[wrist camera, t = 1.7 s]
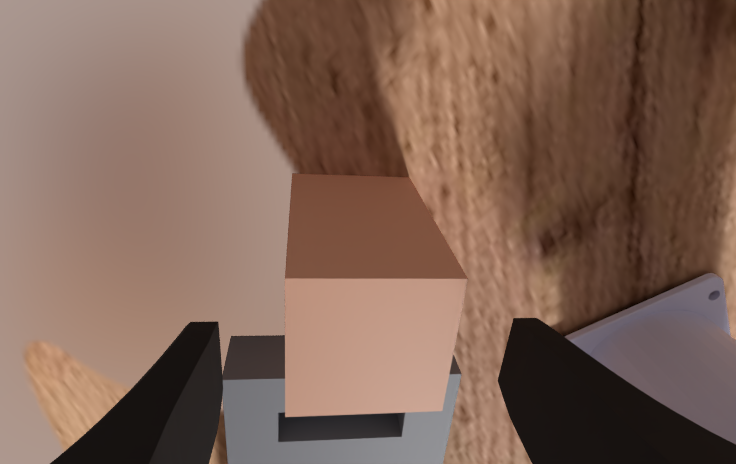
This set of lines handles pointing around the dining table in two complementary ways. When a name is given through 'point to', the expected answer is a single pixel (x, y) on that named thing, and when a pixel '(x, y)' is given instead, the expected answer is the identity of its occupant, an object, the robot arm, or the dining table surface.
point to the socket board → (318, 418)
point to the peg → (367, 298)
